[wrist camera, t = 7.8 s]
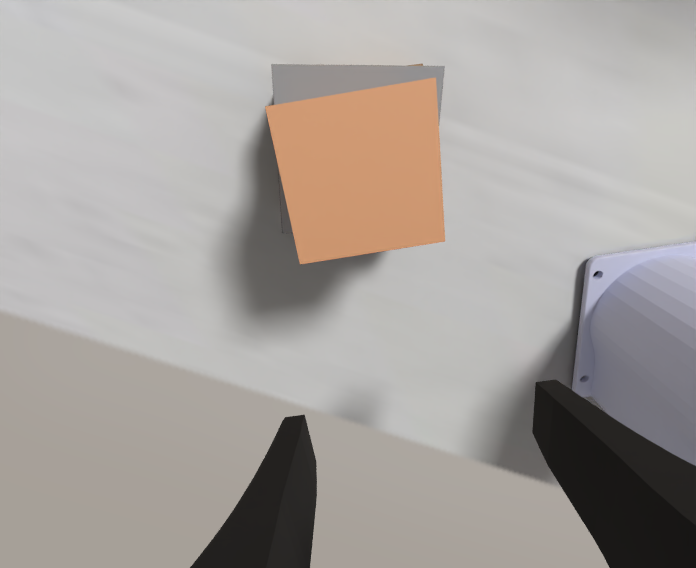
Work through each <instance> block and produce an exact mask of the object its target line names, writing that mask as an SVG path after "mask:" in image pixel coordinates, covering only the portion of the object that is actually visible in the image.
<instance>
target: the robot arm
mask: <svg viewBox="0 0 696 568" xmlns="http://www.w3.org/2000/svg"><path fill="white" fill-rule="evenodd" d="M596 271H599V272H598V274H597V275H596V276H594V277H593V275H594V273H595V272H596ZM583 376H584V377H583ZM581 377H583V378H581ZM590 396H592V397H593V398H594V400H595V401H596V402H597V403H598V404H599V405H600V406H601V407H602V409H603V410H604V411H605V412H606V413H607V414H606V413H605V412H603V411H602V410H600V409H599V408H597V407H596V406H594V405H593V404H591V403H590V402H588V401H587V400H585V399H584V398H583V397H590ZM533 434H534V437H535V439H536V441H537V443H538V445H539V448H540V450H541V452H542V454H543V456H544V458H545V460H546V462H547V464H548V466H549V468H550V469H551V471H552V473H553V474H554V476H555V477H556V479H557V481H558V482H559V484H560V486H561V487H562V489H563V490H564V492H565V494H566V495H567V497H568V498H569V500H570V502H571V503H572V505H573V506H574V508H575V510H576V511H577V513H578V514H579V516H580V517H581V519H582V521H583V522H584V524H585V525H586V527H587V529H588V530H589V532H590V533H591V535H592V536H593V538H594V540H595V542H596V543H597V545H598V547H599V549H600V550H601V552H602V554H603V556H604V557H605V559H606V562H607V563H608V565H609V567H610V568H696V241H693V242H686V243H679V244H673V245H666V246H659V247H652V248H645V249H639V250H632V251H625V252H618V253H611V254H604V255H598V256H594V257H592V258H590V259H589V260H588V262H587V264H586V269H585V278H584V287H583V296H582V304H581V313H580V322H579V331H578V340H577V348H576V357H575V366H574V375H573V383H572V390H571V389H569V388H568V387H566V386H565V385H563V384H562V383H560V382H559V381H557V380H549V381H542V382H536V387H535V402H534V417H533ZM316 496H317V477H316V459H315V455H314V451H313V447H312V443H311V439H310V435H309V431H308V427H307V423H306V419H305V415H300V416H292V417H285V418H284V420H283V421H282V424H281V425H280V428H279V430H278V432H277V434H276V436H275V438H274V440H273V442H272V444H271V446H270V448H269V450H268V452H267V454H266V456H265V458H264V460H263V461H262V463H261V465H260V467H259V469H258V471H257V473H256V474H255V476H254V478H253V479H252V481H251V483H250V484H249V486H248V488H247V489H246V491H245V492H244V494H243V496H242V497H241V499H240V501H239V502H238V504H237V505H236V507H235V508H234V510H233V512H232V513H231V514H230V516H229V517H228V519H227V520H226V522H225V523H224V524H223V526H222V527H221V529H220V530H219V531H218V533H217V534H216V535H215V537H214V538H213V540H212V541H211V542H210V543H209V545H208V546H207V547H206V548H205V550H204V551H203V552H202V554H201V555H200V556H199V557H198V559H197V560H196V561H195V562H194V564H193V565H192V566H191V567H190V568H310V561H311V550H312V540H313V529H314V519H315V508H316Z"/></svg>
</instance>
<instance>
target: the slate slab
mask: <svg viewBox="0 0 696 568" xmlns="http://www.w3.org/2000/svg"><path fill="white" fill-rule="evenodd" d="M271 66H272V82H273V97H274V105H277V104H283V103H289V102H295V101H301V100H306V99H312V98H318V97H324V96H330V95H336V94H341V93H347V92H353V91H359V90H365V89H371V88H377V87H382V86H388V85H394V84H400V83H406V82H412V81H417V80H423V79H429V78H435V77H436V86H437V104H438V122H439V121H440V110H441V100H442V89H443V78H444V68H445V66H384V65H286V64H271ZM278 174H279V189H280V205H281V220H282V233H293V230H292V226H291V221H290V217H289V212H288V208H287V203H286V199H285V194H284V190H283V185H282V181H281V176H280V172H279V167H278Z"/></svg>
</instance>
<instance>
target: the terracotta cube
mask: <svg viewBox="0 0 696 568" xmlns="http://www.w3.org/2000/svg"><path fill="white" fill-rule="evenodd" d="M265 108H266V113H267V117H268V122H269V126H270V131H271V136H272V140H273V145H274V149H275V154H276V158H277V163H278V167H279V172H280V176H281V181H282V185H283V190H284V194H285V199H286V203H287V208H288V212H289V217H290V221H291V226H292V230H293V235H294V240H295V244H296V249H297V253H298V258H299V262H300V264H306V263H312V262H319V261H325V260H331V259H337V258H344V257H350V256H356V255H363V254H369V253H375V252H381V251H388V250H394V249H400V248H407V247H413V246H419V245H426V244H432V243H438V242H444V241H445V231H444V213H443V195H442V176H441V158H440V140H439V122H438V104H437V86H436V77H435V78H429V79H423V80H417V81H412V82H406V83H400V84H394V85H388V86H382V87H377V88H371V89H365V90H359V91H353V92H347V93H341V94H336V95H330V96H324V97H318V98H312V99H306V100H301V101H295V102H289V103H283V104H277V105H271V106H265Z"/></svg>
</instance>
